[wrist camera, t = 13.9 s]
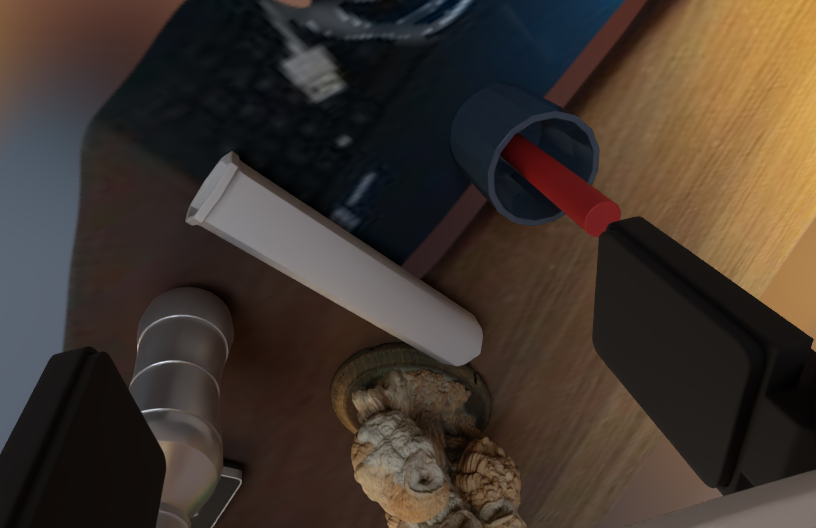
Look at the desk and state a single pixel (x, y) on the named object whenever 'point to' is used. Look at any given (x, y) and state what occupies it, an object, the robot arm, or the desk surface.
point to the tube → (331, 261)
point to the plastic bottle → (184, 394)
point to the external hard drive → (219, 497)
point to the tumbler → (494, 128)
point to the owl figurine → (425, 441)
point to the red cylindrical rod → (561, 186)
